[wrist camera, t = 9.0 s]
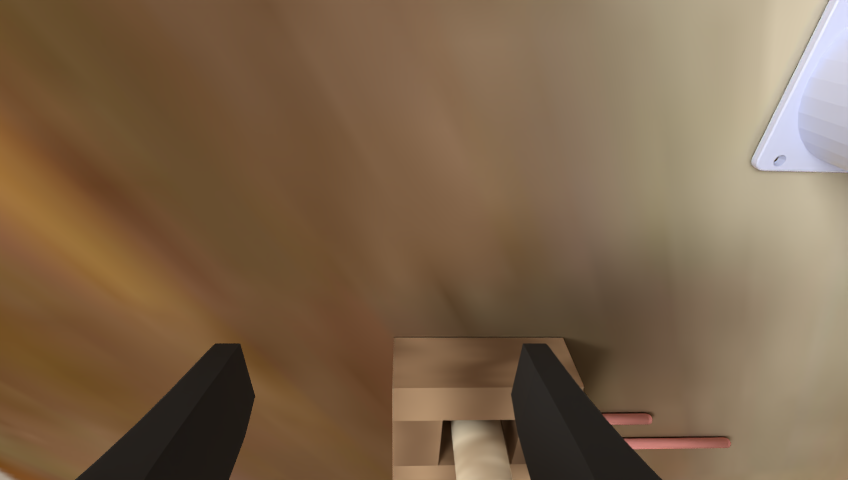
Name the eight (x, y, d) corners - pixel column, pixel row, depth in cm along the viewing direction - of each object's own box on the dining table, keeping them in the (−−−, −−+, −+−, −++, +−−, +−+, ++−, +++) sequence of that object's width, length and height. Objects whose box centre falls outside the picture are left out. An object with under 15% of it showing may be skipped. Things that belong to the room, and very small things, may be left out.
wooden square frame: (562, 337, 24) (584, 387, 22) (532, 436, 30) (546, 487, 27) (393, 337, 24) (392, 388, 21) (394, 438, 29) (392, 489, 26)
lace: (746, 410, 29) (753, 419, 28) (724, 440, 31) (730, 449, 30) (527, 412, 28) (530, 421, 28) (519, 443, 30) (521, 452, 30)
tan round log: (495, 375, 26) (526, 514, 19) (492, 405, 28) (519, 542, 21) (447, 377, 26) (461, 517, 19) (447, 407, 28) (460, 546, 21)
